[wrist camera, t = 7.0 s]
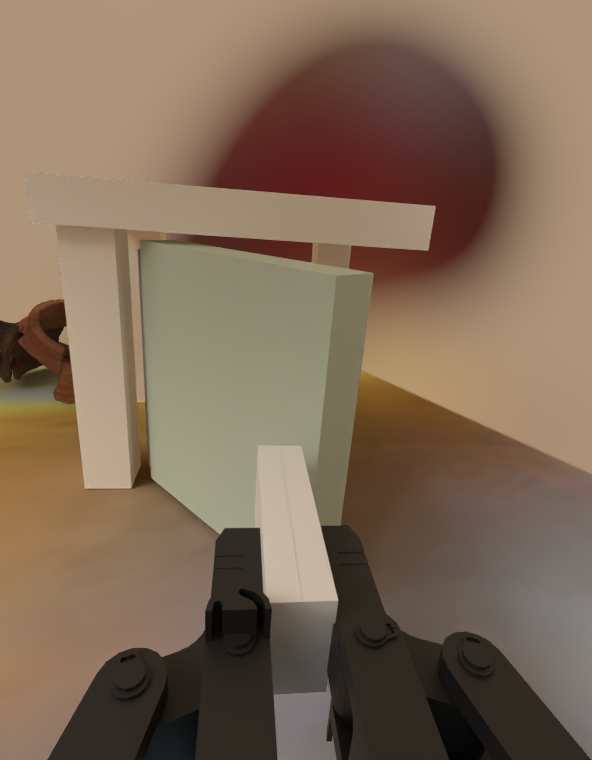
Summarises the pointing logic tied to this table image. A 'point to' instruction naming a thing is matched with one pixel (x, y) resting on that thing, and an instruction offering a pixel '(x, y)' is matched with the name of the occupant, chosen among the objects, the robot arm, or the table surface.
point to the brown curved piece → (38, 347)
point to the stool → (121, 278)
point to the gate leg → (247, 372)
